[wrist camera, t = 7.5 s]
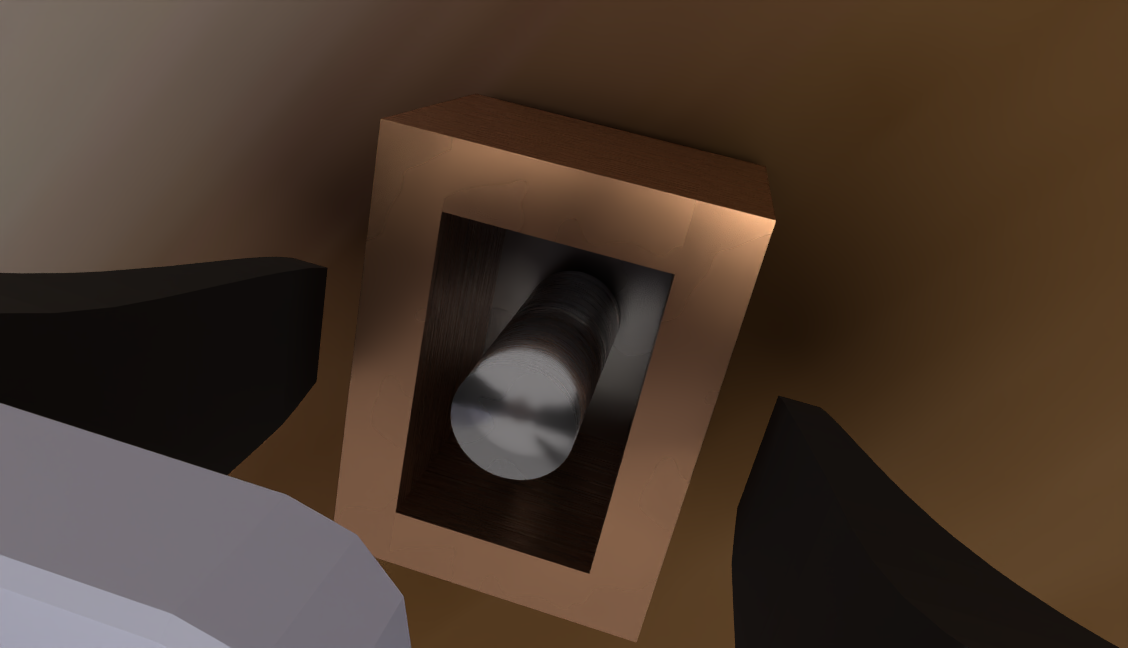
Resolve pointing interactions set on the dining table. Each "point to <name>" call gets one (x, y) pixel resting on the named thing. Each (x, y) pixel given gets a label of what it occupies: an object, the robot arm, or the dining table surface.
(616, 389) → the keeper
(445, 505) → the copper rectangular sleeve
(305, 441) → the dining table surface
